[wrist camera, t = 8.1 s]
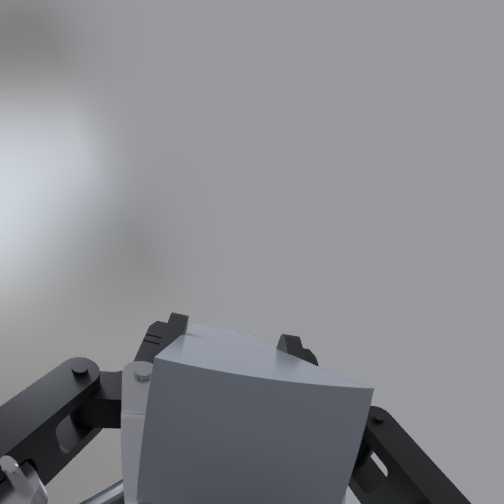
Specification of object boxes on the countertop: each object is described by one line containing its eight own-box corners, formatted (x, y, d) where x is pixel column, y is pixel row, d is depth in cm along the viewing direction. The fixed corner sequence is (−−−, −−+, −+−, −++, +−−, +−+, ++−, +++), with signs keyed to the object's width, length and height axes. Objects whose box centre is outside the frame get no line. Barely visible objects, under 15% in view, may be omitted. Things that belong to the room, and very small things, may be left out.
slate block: (136, 500, 4) (154, 357, 5) (189, 354, 28) (195, 322, 28) (336, 516, 5) (374, 388, 5) (233, 363, 28) (239, 331, 29)
